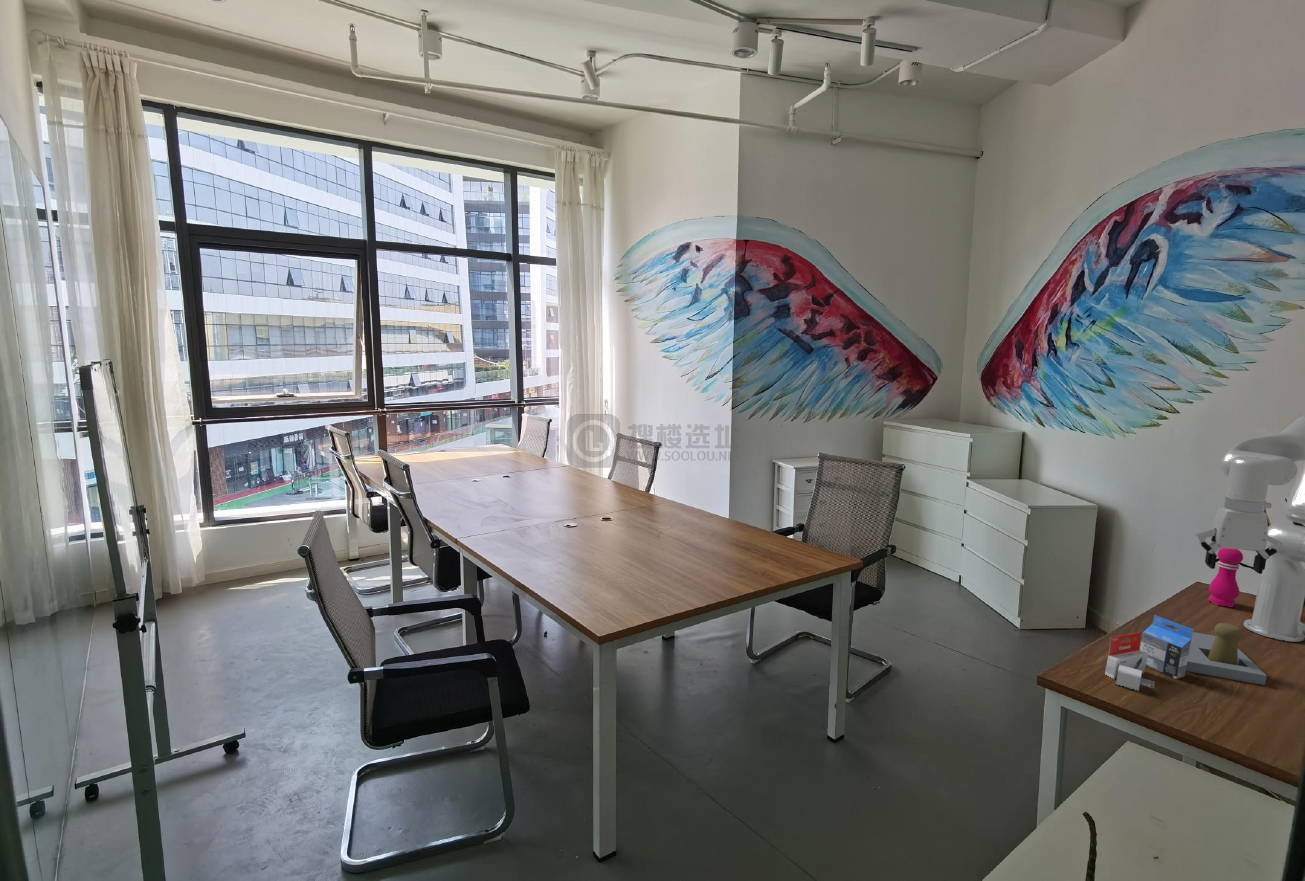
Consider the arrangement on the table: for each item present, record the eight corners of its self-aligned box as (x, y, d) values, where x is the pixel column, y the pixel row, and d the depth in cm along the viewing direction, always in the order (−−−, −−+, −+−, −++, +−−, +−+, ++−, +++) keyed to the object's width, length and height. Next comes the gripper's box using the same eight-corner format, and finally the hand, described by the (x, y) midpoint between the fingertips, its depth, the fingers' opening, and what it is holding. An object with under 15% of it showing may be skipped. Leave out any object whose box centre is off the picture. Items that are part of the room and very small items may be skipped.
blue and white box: (1136, 662, 163) (1144, 616, 161) (1145, 659, 165) (1153, 614, 163) (1176, 679, 155) (1184, 631, 153) (1185, 677, 157) (1194, 629, 155)
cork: (1199, 660, 166) (1206, 620, 164) (1221, 660, 166) (1228, 620, 164) (1221, 672, 160) (1229, 630, 158) (1244, 672, 160) (1252, 630, 158)
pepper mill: (1242, 609, 200) (1254, 547, 197) (1215, 607, 202) (1226, 545, 199) (1227, 600, 207) (1238, 540, 204) (1201, 598, 209) (1211, 538, 206)
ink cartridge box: (1145, 673, 158) (1151, 635, 157) (1114, 680, 154) (1120, 641, 153) (1134, 668, 160) (1140, 631, 159) (1103, 675, 157) (1109, 637, 155)
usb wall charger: (1117, 679, 155) (1119, 663, 154) (1153, 689, 150) (1156, 673, 150) (1115, 685, 152) (1118, 669, 151) (1152, 696, 147) (1155, 680, 147)
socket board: (1225, 646, 174) (1226, 637, 174) (1264, 685, 154) (1266, 675, 154) (1153, 634, 180) (1154, 625, 180) (1182, 670, 160) (1184, 660, 160)
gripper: (1279, 504, 164) (1268, 568, 167) (1195, 498, 170) (1186, 560, 173) (1296, 512, 157) (1284, 579, 160) (1208, 506, 164) (1198, 570, 167)
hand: (1233, 569), depth 167 cm, fingers open, 9 cm apart
